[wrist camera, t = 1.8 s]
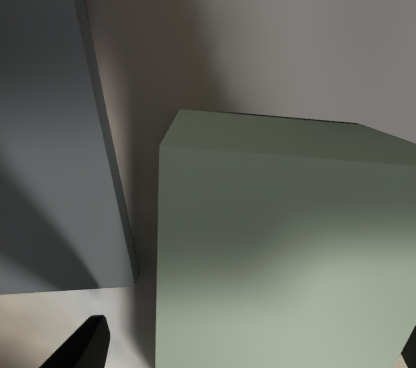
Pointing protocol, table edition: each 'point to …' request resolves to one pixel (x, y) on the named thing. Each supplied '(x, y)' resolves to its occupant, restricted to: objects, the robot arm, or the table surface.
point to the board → (57, 157)
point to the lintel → (283, 243)
